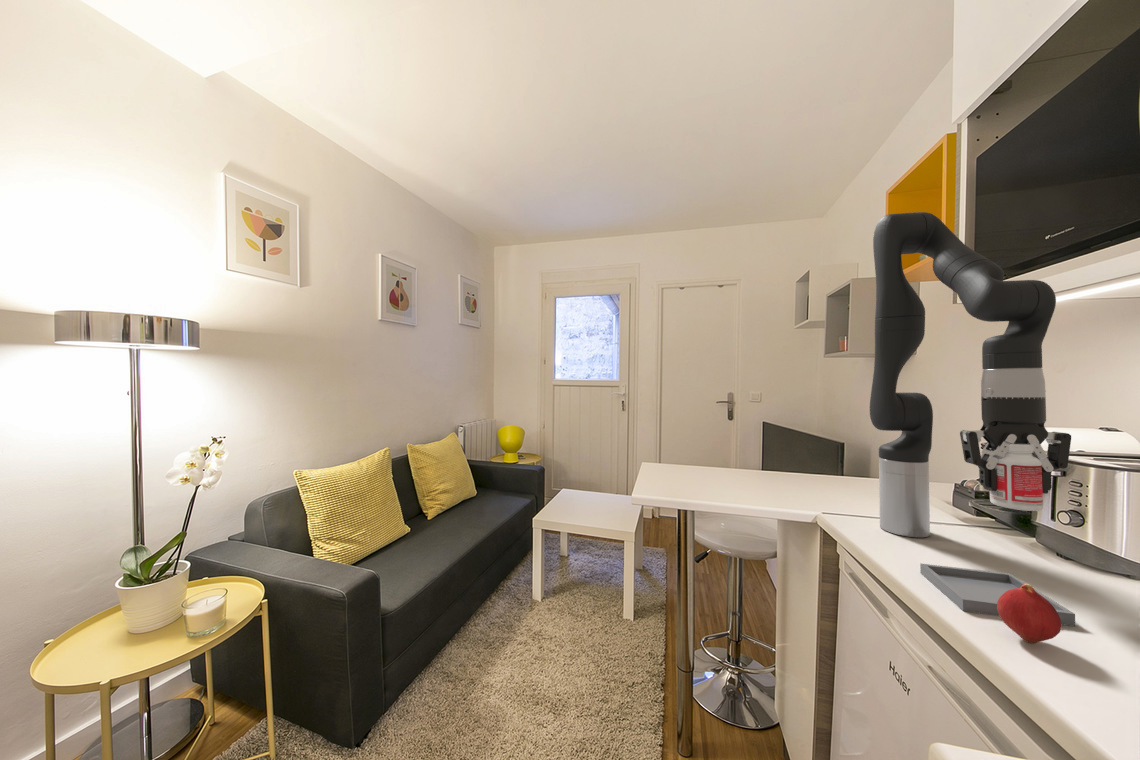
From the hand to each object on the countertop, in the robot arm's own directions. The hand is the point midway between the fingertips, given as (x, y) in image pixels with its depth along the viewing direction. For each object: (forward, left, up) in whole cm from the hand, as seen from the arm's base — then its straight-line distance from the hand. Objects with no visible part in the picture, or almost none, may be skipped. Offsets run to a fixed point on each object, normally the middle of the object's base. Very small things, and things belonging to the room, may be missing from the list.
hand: (1014, 490), depth 69 cm
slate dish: (+5, -6, -17) cm, 19 cm away
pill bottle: (0, 0, -3) cm, 3 cm away
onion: (+18, -9, -17) cm, 26 cm away
